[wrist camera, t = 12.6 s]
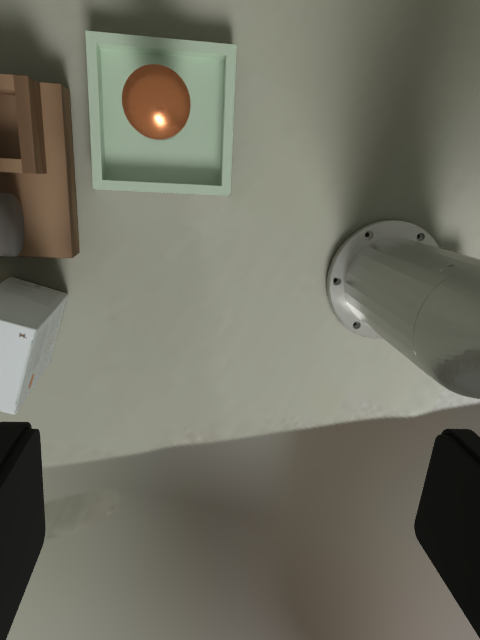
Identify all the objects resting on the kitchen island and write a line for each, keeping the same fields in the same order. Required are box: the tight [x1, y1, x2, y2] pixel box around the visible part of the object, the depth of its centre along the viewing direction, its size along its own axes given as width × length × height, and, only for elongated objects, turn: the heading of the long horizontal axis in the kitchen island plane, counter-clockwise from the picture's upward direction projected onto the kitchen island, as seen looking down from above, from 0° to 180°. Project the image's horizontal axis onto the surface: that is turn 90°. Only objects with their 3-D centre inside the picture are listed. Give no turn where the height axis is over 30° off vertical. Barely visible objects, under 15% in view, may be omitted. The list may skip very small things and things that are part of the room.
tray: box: [85, 31, 237, 196], centre depth 39 cm, size 12×12×2 cm
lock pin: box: [122, 64, 191, 141], centre depth 34 cm, size 4×4×11 cm
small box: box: [0, 277, 68, 415], centre depth 39 cm, size 8×6×10 cm
